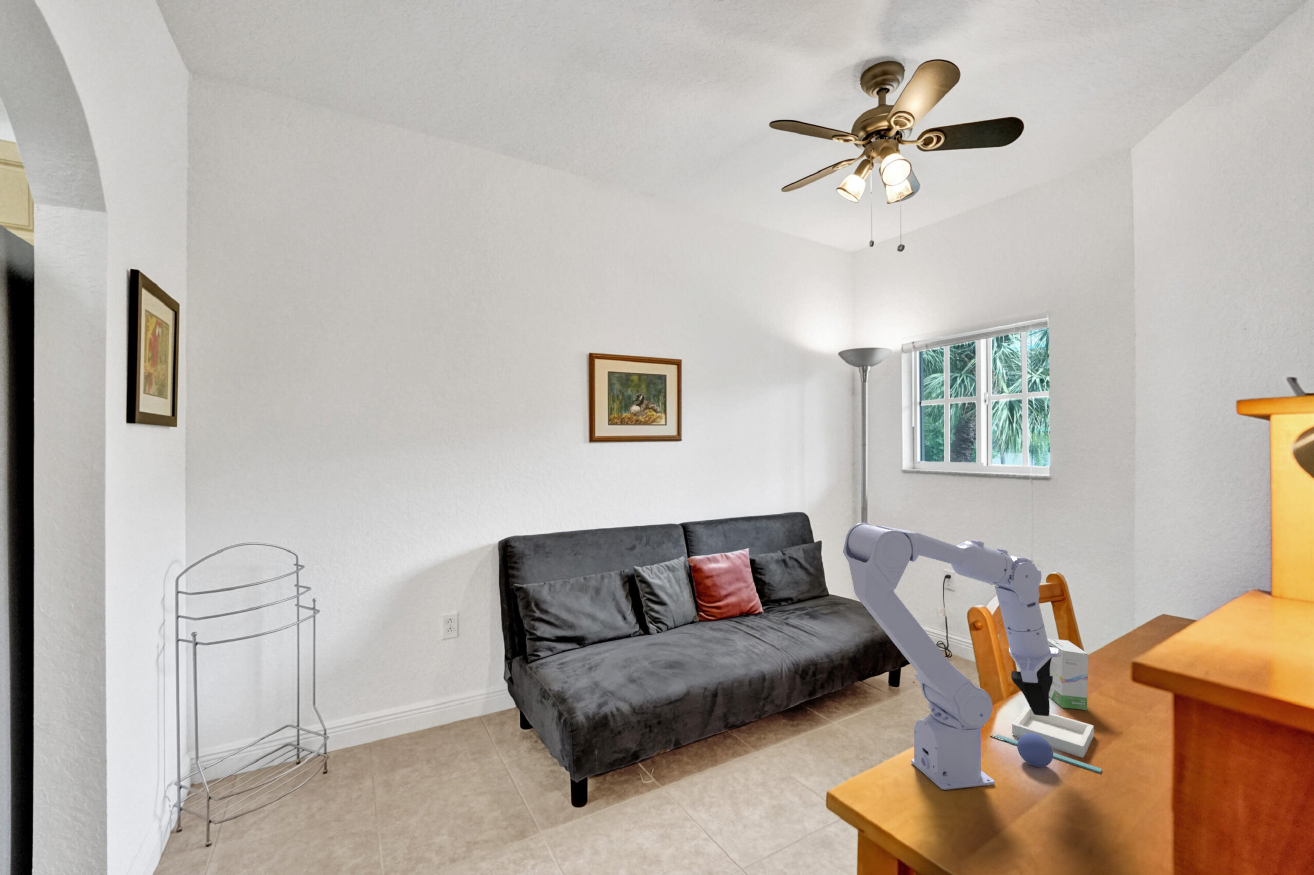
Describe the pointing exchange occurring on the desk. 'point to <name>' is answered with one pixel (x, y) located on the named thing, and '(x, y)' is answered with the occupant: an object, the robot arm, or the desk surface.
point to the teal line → (1058, 756)
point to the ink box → (1069, 675)
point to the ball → (1035, 750)
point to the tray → (1056, 731)
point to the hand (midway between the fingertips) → (1042, 701)
